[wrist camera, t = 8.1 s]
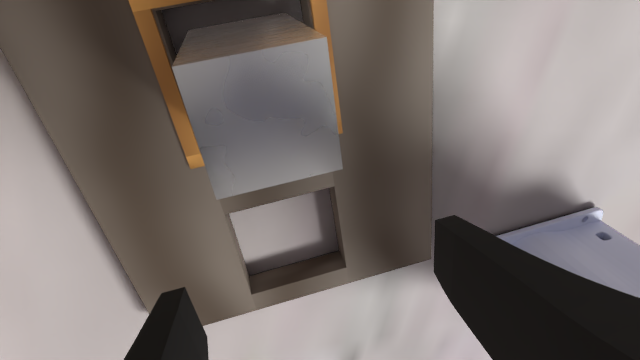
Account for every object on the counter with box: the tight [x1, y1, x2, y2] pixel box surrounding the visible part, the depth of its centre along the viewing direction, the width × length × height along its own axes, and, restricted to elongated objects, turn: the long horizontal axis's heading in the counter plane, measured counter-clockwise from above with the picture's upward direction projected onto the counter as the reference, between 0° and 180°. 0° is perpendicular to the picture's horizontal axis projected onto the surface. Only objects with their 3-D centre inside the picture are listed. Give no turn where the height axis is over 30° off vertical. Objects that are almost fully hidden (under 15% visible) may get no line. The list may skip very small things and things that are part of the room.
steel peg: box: [172, 13, 343, 200], centre depth 14 cm, size 4×4×7 cm
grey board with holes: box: [0, 0, 434, 326], centre depth 18 cm, size 16×17×2 cm
